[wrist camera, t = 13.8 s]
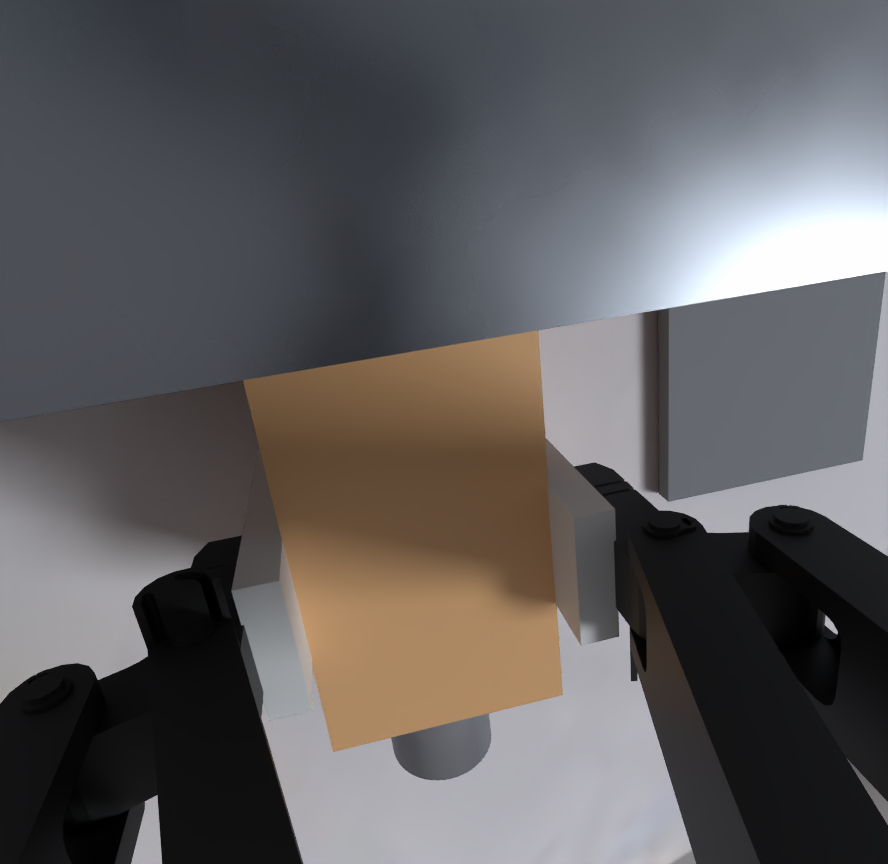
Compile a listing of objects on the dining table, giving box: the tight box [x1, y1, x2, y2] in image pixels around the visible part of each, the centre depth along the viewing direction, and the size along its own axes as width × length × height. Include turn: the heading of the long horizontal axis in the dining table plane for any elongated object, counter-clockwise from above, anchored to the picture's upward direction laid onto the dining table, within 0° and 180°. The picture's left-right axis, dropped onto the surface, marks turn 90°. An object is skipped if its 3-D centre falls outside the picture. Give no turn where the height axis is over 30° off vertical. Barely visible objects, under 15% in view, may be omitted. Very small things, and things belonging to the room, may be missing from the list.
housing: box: [0, 0, 888, 422], centre depth 12 cm, size 5×16×10 cm, turn 97°
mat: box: [659, 271, 886, 502], centre depth 17 cm, size 22×7×1 cm, turn 7°
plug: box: [243, 330, 563, 780], centre depth 15 cm, size 21×5×7 cm, turn 7°
